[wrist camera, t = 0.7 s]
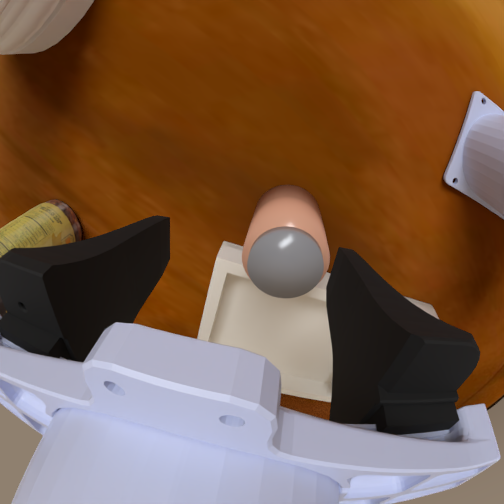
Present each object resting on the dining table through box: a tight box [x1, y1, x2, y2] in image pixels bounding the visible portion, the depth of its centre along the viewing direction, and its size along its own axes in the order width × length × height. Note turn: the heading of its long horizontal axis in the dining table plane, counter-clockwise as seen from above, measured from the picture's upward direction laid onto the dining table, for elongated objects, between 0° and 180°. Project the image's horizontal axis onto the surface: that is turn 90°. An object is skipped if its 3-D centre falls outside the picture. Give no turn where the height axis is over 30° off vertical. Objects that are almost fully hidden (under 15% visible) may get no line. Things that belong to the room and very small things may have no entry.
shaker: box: [242, 185, 330, 298], centre depth 18 cm, size 5×5×7 cm
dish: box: [197, 241, 439, 402], centre depth 26 cm, size 20×14×2 cm
